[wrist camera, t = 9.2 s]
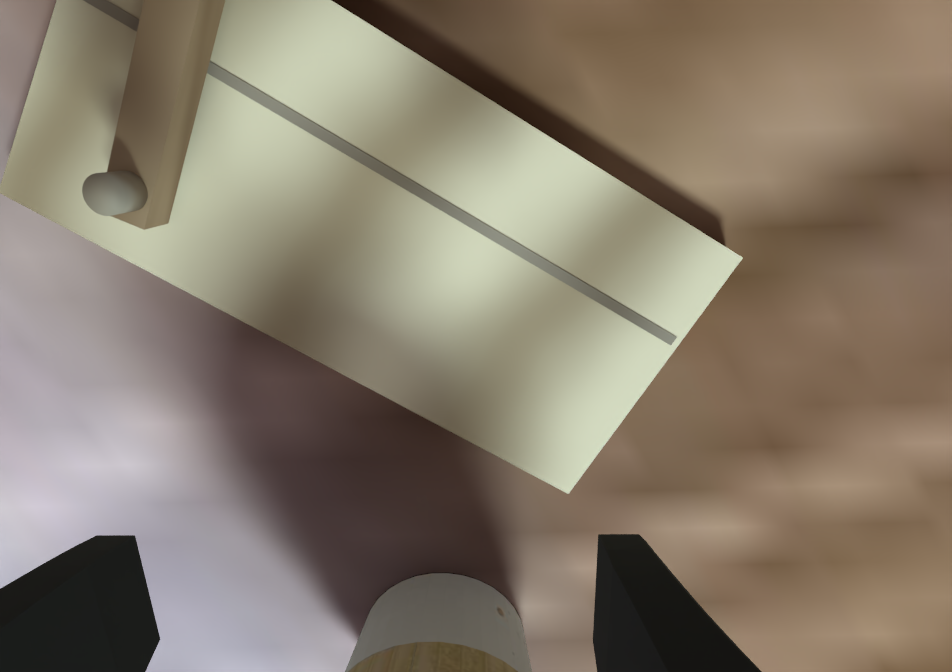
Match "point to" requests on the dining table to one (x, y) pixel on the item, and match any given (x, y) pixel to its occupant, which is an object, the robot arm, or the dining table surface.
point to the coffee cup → (441, 629)
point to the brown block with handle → (156, 112)
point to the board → (384, 224)
